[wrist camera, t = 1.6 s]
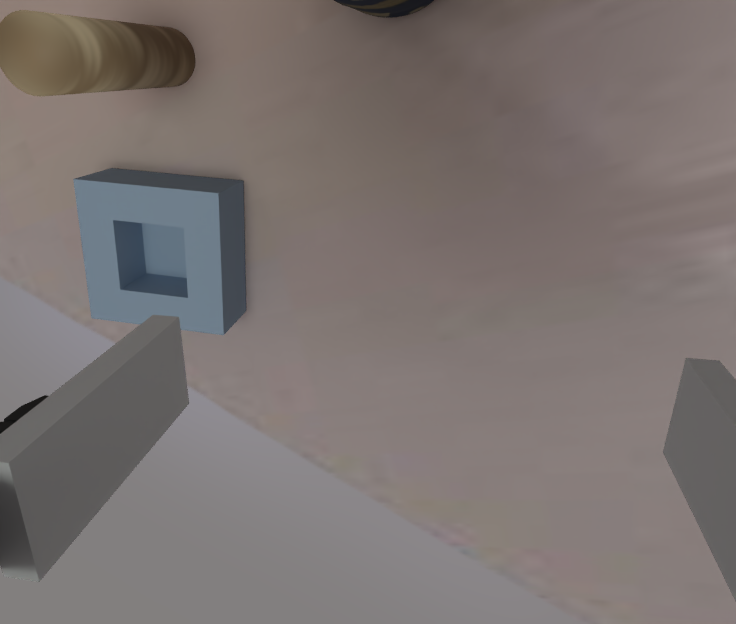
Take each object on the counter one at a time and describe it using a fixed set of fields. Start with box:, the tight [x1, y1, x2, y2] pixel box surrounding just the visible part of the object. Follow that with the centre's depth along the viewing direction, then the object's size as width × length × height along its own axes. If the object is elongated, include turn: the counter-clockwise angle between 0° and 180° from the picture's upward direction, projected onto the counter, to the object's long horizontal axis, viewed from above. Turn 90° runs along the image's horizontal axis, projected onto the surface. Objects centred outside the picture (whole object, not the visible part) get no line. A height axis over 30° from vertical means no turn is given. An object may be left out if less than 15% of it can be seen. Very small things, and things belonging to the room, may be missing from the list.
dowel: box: [0, 10, 195, 96], centre depth 37 cm, size 4×4×15 cm
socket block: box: [74, 168, 246, 335], centre depth 47 cm, size 11×11×5 cm
